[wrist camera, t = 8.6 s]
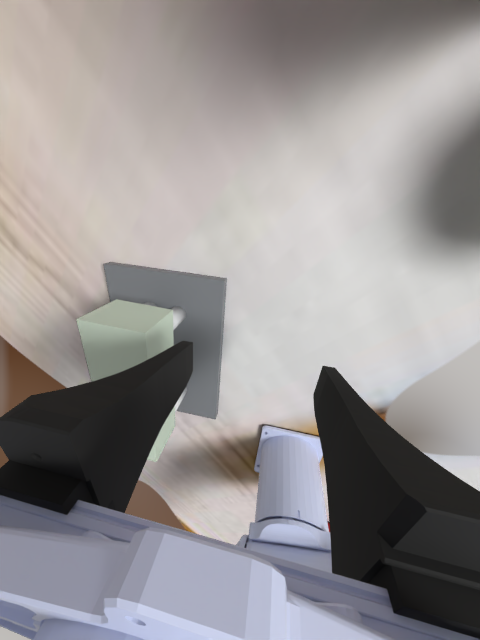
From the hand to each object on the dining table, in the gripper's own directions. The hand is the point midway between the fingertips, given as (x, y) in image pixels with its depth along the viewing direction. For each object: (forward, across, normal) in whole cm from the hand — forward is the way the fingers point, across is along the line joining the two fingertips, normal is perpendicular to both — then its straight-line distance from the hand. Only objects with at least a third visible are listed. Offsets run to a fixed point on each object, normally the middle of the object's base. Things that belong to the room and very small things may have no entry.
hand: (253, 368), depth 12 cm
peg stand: (+10, +10, +7) cm, 16 cm away
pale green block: (+5, +10, +7) cm, 13 cm away
